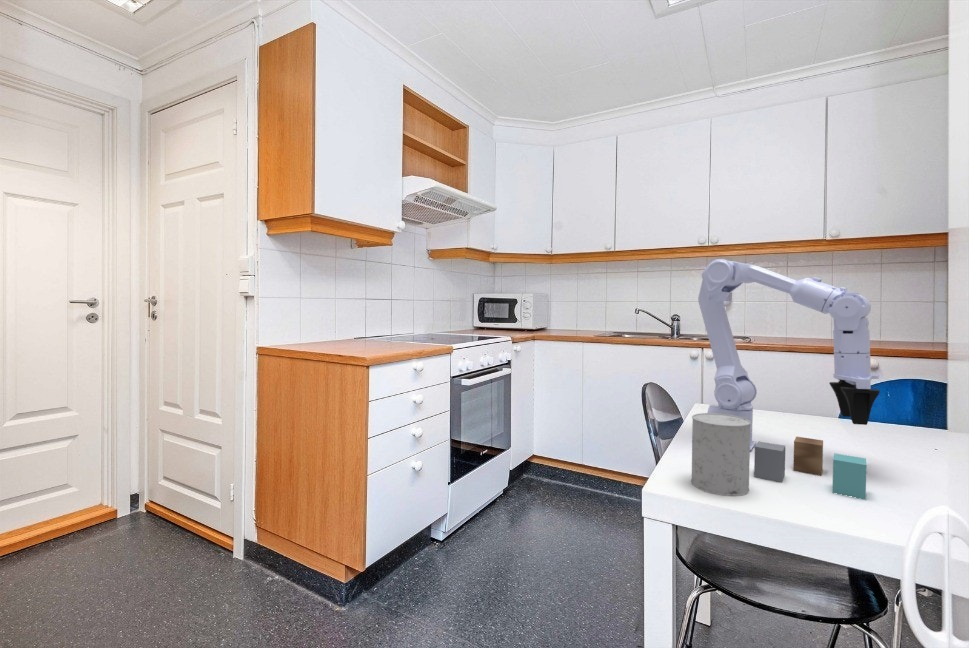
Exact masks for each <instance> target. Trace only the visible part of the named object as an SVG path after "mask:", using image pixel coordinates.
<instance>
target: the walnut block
mask: <svg viewBox="0 0 969 648" xmlns="http://www.w3.org/2000/svg"><path fill="white" fill-rule="evenodd" d="M823 458H824V440H823V439H818V438H817V439H816V438H809V437H808V438H807V437H803V436H795V439H794V440H793V464H792V465H793V470H792V471H793V472H798V473H804V474H809V475H813V476H819V477H821V476H822V473H823V463H824V462H823V461H824V460H823Z"/></svg>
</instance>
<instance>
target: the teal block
mask: <svg viewBox="0 0 969 648" xmlns="http://www.w3.org/2000/svg"><path fill="white" fill-rule="evenodd" d="M867 466H868V465H867V458H866V457H862V456H861V457H860V456H853V455H849V454H848V455H847V454H841V453H833V458H832V489H831V490H832V494H834V493H837V494H836V495H839V494H842V495H841V496H844V495H847V496H846V497H849V496H852V497H851V498H854V497H856V498H855V499H859V498H861V499H860V500H864V499H866V498H867V496H866V495H867V494H866V493H867Z"/></svg>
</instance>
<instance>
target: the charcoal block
mask: <svg viewBox="0 0 969 648" xmlns="http://www.w3.org/2000/svg"><path fill="white" fill-rule="evenodd" d="M753 468H754V469H753V473H754V474H753V477H754V478H756V479H761V480H765V481H769V482H775V483H779V484H782V483H783V481H784V479H785V476H786V475H785V474H786V445H784V444H777V443H772V442H767V441H766V442H765V441H757V442H756V444H755V446H754V467H753Z"/></svg>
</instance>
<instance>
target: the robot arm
mask: <svg viewBox="0 0 969 648" xmlns="http://www.w3.org/2000/svg"><path fill="white" fill-rule="evenodd" d="M701 278H702V279H701V280H702V281H701V284H700V289H699V294H698V297H697V299H698V304H699V309H700V311H701V316H702V318H703V319H702V320H703V323H704V327H705V330H706V335H707V339H708V341H709V344H710V345H709V346H710V349H711V352H712V356H713V359H714V363H715V366H716V371H715V375H714V378H713V380H714V384H715V387H714V392H713V393H714V399H715V400H716V402H717V403H718V404H716V405H715V404H710V405H709V406H708V409H707V413H718V414H727V415H733V416H738V417H742V418H745V419H748V420H749V421H750V422H751V424H750V451H752V450H753V449H754V448H755V446H756V444H757V441H755V440H753V418H754V417H753V416H754V414H753V412H754V410H753V408H754V406H753V405H752V402H753V401H754V400H755V398H756V397H757V393H758V392H757V387H756V385H755V384H754V382H753V381H752V380H751V379H750V376H749V374H748V371H747V370H746V369H745V368H744V367H743V365H742V363H741V360H740V357H739V353H738V349H737V346H736V343H735V339H734V336H733V332H732V329H731V328H732V327H731V326H730V321H729V317H728V314H727V311H726V307H725V303H724V302H725V301H726V300H727V298H728V296H729V295H730V294H731V293H732V292H733V291H735V290H736V289H737V288H739V287H740V286H741V285H743V284H752V283H756V284H760V285H763V286H765V287H769V288H771V289H775V290H778V291H780V292H783V293H786V294H788V295H790V296H791V299H792V301H793V302H794V303H795V304H798V305H801V306H803V307H806V308H808V309H812V310H815V311H817V312H819V313H822V314H825V315H826V314H829V315H830V316H831V317H832V318H833V331H832V333H833V334H832V336H833V337H832V338H833V361H834V365H833V366H834V367H833V368H834V373H833V379H834V380H835V379H836V380H837V381H831V382H830V381H829V386H830V387H831V389H832V391H833V393H834V394H835V397H836V400H837V402H838V408H839V410H840V413H841V416H842V417H845V418H846V417H847V418H849V417H850V419H851V422H852V425H863V426H867V425H868V423H869V420H870V415H871V410H872V407H873V405H874V402H875V401H876V400H877V397H878V396H879V395H880V392H881V391H880V390H879V389H878V388H877V389H876V388H875V389H874V388H872V387H871V381H872V380H877V379H879V378H880V376H879V375H878V374H872V368H871V365H872V363H871V338H870V337H871V336H870V335H871V334H870V333H871V332H870V329H869V324H870V323H869V317H867V316H868V315H870V313H871V309H872V306H871V302H870V301H869V299H868V298H866V297H865V296H864V295H861V294H860V293H859V292H847V291H848V288H847V287H844V286H840V287H837V286H833V285H831V284H828V283H825V282H822V281H823V280H822V278H820V277H815V276H814V277H812V278H809V277H805V278H802V279H799V280H796V279H793V278H791V277H789V276H785V275H783V274H780V273H778V272H774V271H772V270H769V269H767V268H764V267H762V266H758V265H755V264H749V263H743V262H739V261H734V260H733V261H732V260H727V259H724V258H718V259H714V260H712V261H710V262H709V263H708V265H706V267H705V269H704V270H703V271H702V272H701Z"/></svg>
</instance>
